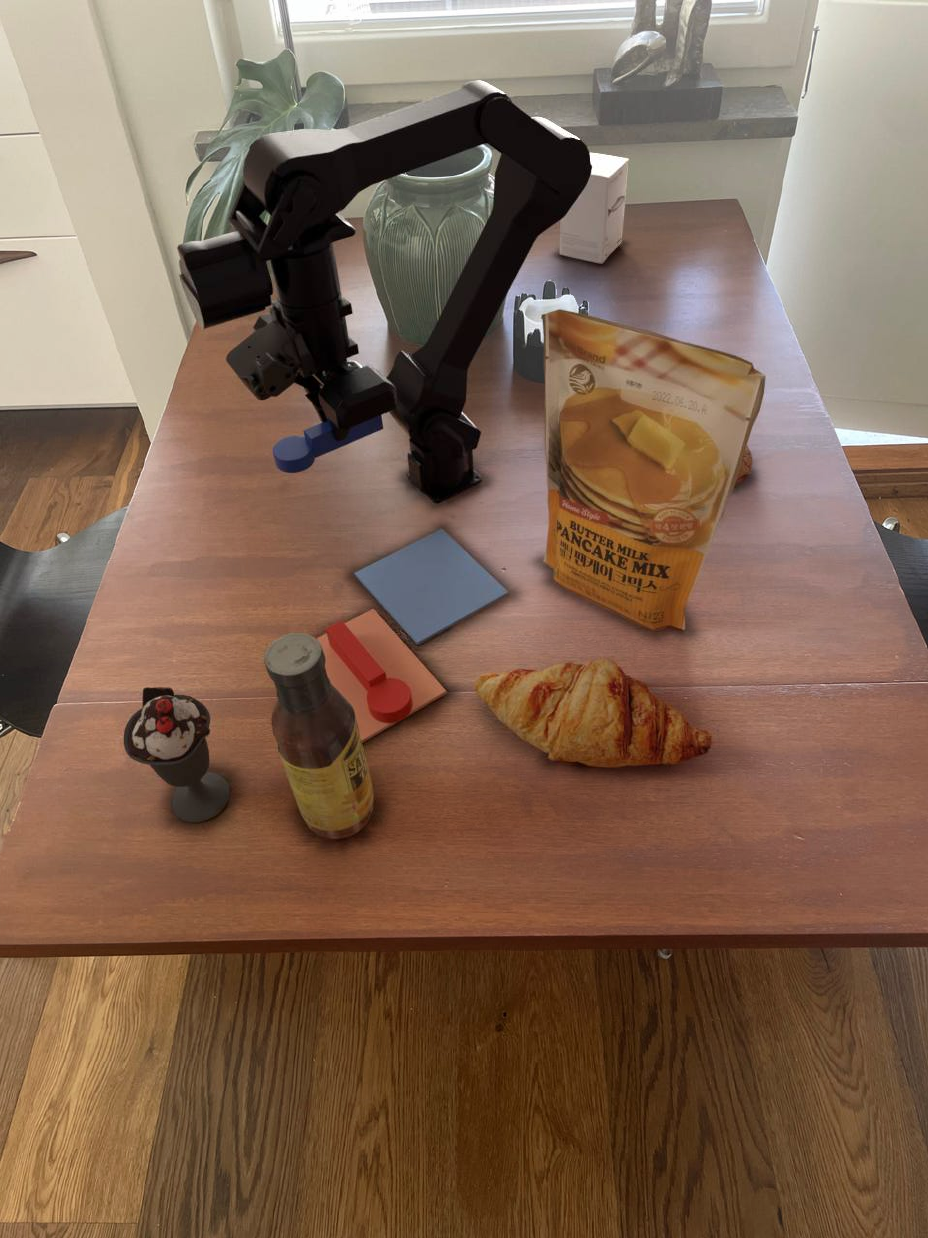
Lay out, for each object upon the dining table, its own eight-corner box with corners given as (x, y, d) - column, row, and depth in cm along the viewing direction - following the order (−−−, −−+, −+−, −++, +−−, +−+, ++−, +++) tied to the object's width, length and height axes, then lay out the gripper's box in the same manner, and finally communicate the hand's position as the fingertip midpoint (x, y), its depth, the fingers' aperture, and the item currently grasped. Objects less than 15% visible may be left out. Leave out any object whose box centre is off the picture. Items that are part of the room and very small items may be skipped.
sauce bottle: (381, 834, 75) (345, 685, 61) (306, 850, 75) (251, 704, 60) (370, 768, 80) (334, 614, 65) (298, 783, 79) (245, 631, 64)
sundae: (224, 838, 76) (172, 733, 65) (149, 825, 77) (85, 720, 66) (252, 770, 80) (207, 661, 69) (180, 759, 81) (125, 650, 70)
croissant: (467, 741, 85) (446, 729, 78) (496, 638, 87) (478, 616, 80) (698, 804, 79) (699, 796, 72) (724, 691, 81) (727, 673, 73)
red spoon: (319, 650, 89) (315, 633, 87) (355, 630, 90) (351, 614, 88) (383, 731, 82) (380, 715, 80) (421, 709, 83) (418, 692, 81)
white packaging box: (602, 265, 136) (608, 177, 127) (557, 255, 139) (560, 168, 130) (623, 243, 140) (630, 157, 131) (579, 234, 143) (583, 149, 134)
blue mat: (442, 530, 99) (441, 528, 99) (508, 594, 93) (508, 592, 92) (354, 575, 96) (354, 572, 95) (417, 645, 89) (417, 643, 88)
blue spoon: (370, 415, 97) (367, 396, 96) (389, 434, 95) (386, 414, 93) (269, 458, 93) (263, 439, 92) (286, 478, 91) (281, 459, 89)
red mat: (373, 610, 92) (373, 608, 92) (446, 693, 85) (446, 690, 84) (285, 657, 89) (284, 655, 88) (353, 748, 81) (352, 745, 81)
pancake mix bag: (556, 533, 98) (564, 288, 78) (718, 609, 90) (776, 357, 69) (519, 570, 95) (517, 324, 74) (684, 652, 87) (734, 401, 66)
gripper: (185, 280, 85) (227, 419, 97) (271, 370, 74) (306, 515, 86) (293, 243, 89) (321, 382, 100) (390, 324, 78) (409, 469, 89)
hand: (336, 434), depth 94 cm, fingers closed on blue spoon, 2 cm apart
